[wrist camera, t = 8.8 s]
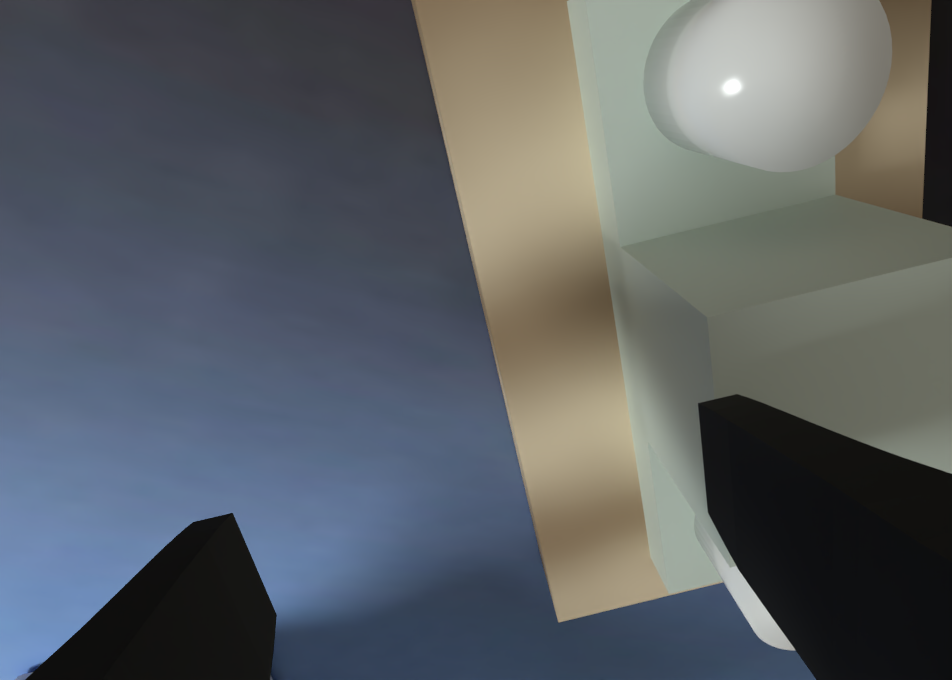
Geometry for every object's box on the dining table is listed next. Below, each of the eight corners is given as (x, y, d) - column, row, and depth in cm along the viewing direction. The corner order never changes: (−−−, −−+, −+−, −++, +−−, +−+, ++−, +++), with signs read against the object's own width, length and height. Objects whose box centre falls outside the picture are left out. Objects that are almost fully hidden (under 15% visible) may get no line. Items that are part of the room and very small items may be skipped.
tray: (808, 518, 19) (966, 694, 14) (650, 557, 19) (746, 749, 14) (790, -53, 14) (1047, -141, 8) (566, 0, 14) (673, -50, 8)
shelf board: (857, 489, 22) (908, 537, 20) (542, 566, 22) (558, 622, 20) (859, -131, 16) (938, -167, 13) (406, -21, 16) (406, -38, 13)
